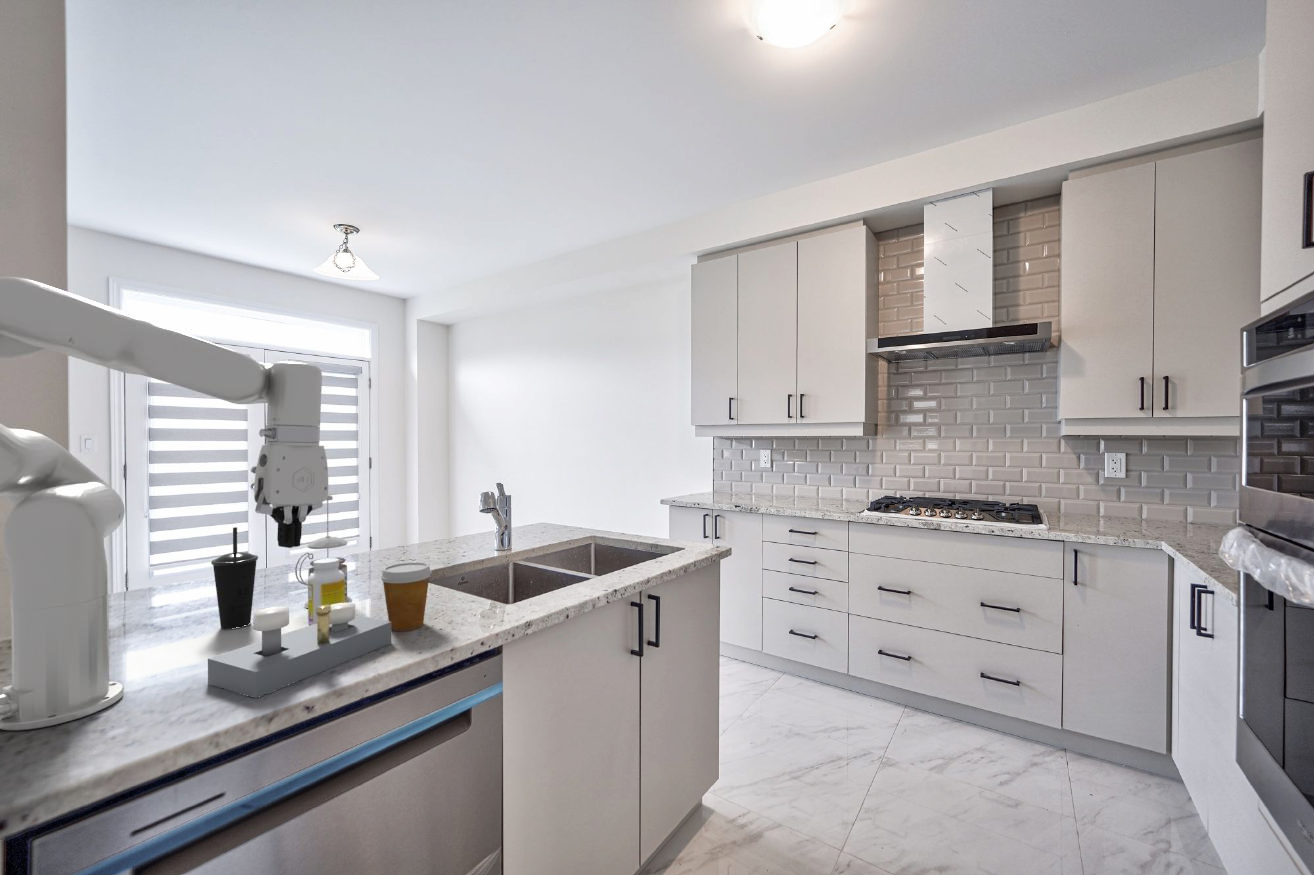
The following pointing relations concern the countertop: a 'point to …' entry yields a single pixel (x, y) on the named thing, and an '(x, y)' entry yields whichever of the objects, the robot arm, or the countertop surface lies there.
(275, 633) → the knob near
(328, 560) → the supplement bottle
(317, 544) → the french press
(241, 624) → the drinking cup
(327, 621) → the brass post
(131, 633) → the countertop surface
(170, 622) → the countertop surface
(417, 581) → the disposable coffee cup
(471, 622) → the countertop surface
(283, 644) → the mount
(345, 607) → the knob far
